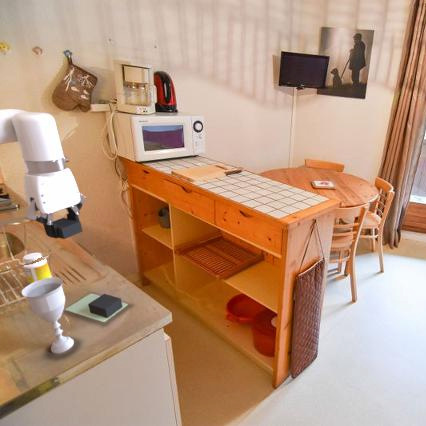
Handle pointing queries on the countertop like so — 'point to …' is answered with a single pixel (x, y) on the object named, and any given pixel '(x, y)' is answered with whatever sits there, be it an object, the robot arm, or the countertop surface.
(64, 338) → the chalice
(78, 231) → the loose pad
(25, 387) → the countertop surface
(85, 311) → the mat
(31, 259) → the supplement bottle
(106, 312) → the pad
